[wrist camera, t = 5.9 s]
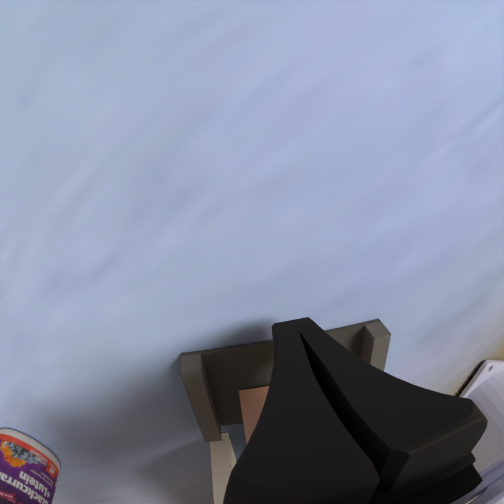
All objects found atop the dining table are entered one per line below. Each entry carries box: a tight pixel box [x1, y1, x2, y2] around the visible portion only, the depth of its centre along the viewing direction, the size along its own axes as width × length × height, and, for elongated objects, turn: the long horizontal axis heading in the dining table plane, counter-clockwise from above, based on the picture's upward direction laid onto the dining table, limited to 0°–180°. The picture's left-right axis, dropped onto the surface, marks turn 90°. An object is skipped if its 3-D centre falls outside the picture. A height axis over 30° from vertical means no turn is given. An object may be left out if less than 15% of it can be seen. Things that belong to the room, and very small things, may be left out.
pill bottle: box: [0, 428, 60, 504], centre depth 10 cm, size 5×5×10 cm
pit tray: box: [180, 319, 391, 442], centre depth 13 cm, size 9×5×1 cm, turn 96°
